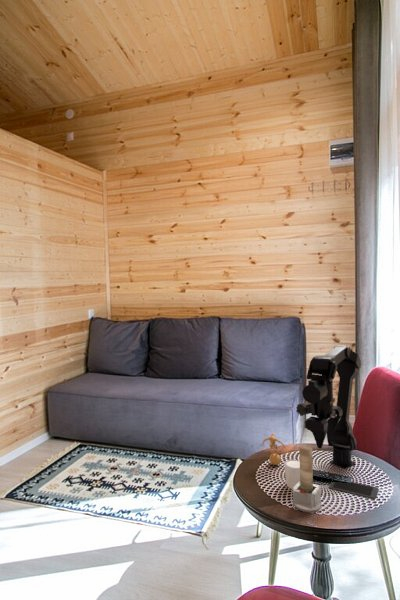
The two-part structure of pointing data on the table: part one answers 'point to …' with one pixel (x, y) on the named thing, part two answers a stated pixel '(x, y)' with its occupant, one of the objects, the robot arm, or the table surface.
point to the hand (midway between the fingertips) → (324, 443)
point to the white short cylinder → (292, 472)
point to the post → (306, 469)
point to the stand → (307, 498)
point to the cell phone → (355, 489)
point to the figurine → (274, 456)
